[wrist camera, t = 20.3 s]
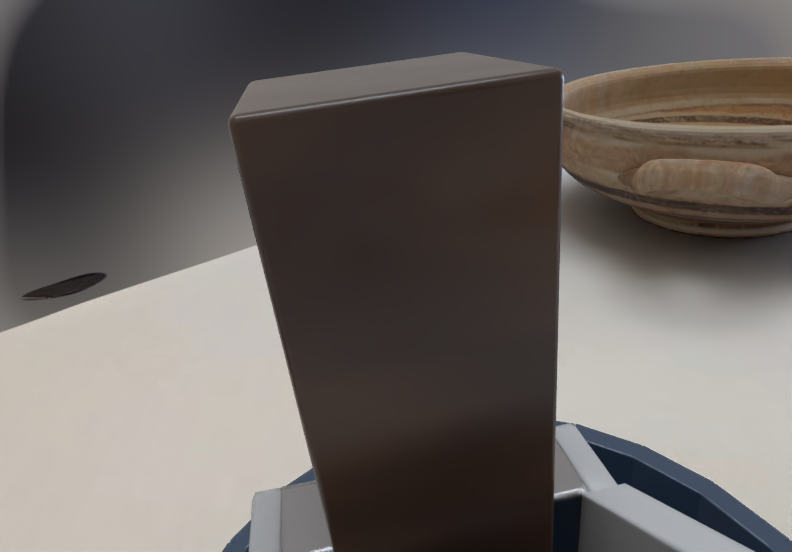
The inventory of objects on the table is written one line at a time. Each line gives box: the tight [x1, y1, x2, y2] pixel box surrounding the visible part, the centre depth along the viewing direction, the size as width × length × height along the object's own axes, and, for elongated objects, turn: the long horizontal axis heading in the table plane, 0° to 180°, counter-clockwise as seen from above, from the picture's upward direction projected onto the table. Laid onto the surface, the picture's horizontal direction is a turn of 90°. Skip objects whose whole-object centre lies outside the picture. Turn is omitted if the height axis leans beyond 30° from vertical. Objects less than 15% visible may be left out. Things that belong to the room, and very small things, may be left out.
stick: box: [228, 52, 564, 552], centre depth 10 cm, size 3×3×16 cm
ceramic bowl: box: [562, 57, 792, 238], centre depth 43 cm, size 37×28×10 cm
